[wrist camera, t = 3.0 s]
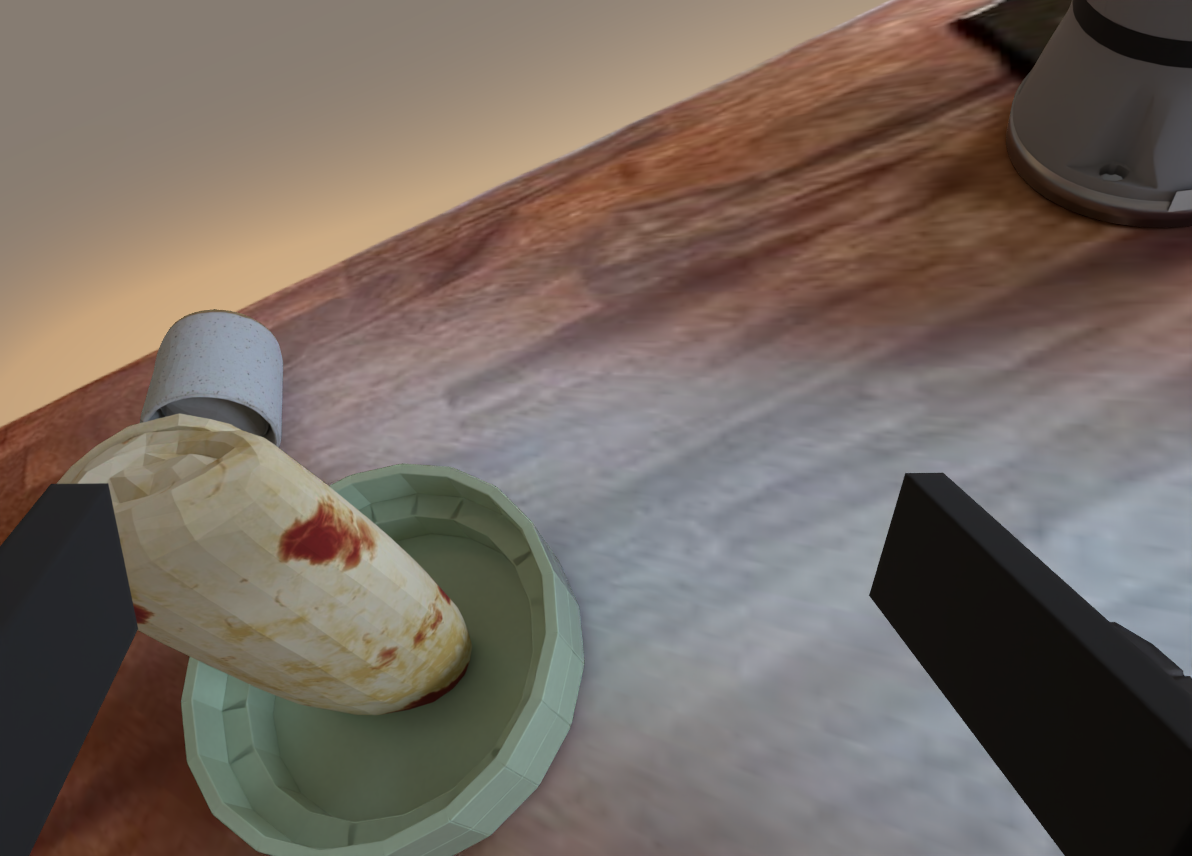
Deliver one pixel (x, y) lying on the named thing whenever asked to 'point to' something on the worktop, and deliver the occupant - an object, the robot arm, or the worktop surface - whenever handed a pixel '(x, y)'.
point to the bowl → (423, 734)
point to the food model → (272, 571)
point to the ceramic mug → (219, 373)
